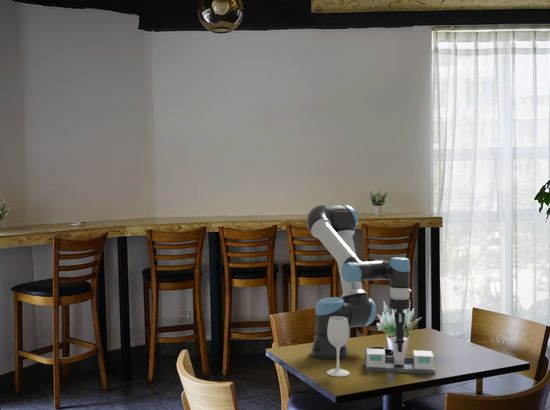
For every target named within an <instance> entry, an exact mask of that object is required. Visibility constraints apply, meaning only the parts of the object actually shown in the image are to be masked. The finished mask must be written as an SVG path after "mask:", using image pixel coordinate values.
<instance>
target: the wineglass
mask: <svg viewBox="0 0 550 410" xmlns="http://www.w3.org/2000/svg"><path fill="white" fill-rule="evenodd" d="M327 336H328V340H329V342H330V343H331V344H332V345H333V346H334V347H336V350H337V359H336V363H335V364H336V365H335V368H332V369H329V370H327V371H326V374H327V375H328V376H331V377H341V378H342V377H348V376H349V375H350V371H348V370H347V369H343V368H341V364H340V359H339V352H340V348H341V347H342V346H344V345H345V344H346V345H347V343H348V341H349V338H350V328H349V325H348V320H347V318H346V317H342V316H333V317H330V318H329V322H328V328H327Z"/></svg>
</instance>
